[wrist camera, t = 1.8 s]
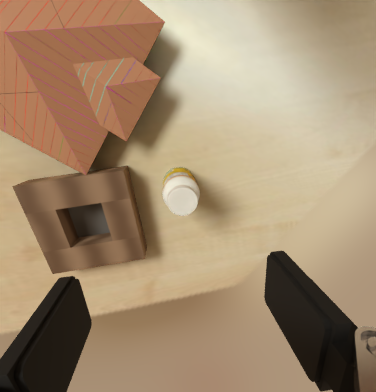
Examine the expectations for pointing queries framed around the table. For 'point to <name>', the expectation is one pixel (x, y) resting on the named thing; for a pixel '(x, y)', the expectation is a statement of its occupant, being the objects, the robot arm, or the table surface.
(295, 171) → the table surface
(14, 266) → the table surface
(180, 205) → the supplement bottle
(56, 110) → the house
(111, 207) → the holder
